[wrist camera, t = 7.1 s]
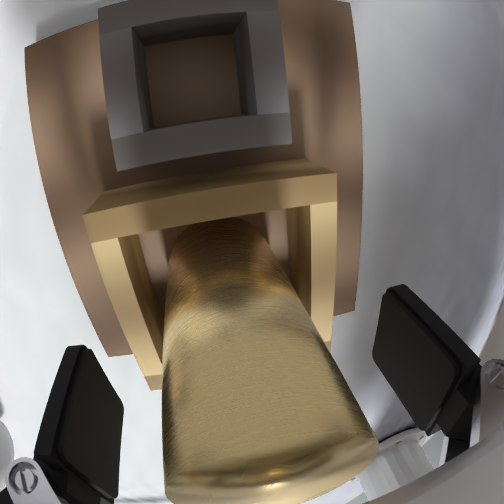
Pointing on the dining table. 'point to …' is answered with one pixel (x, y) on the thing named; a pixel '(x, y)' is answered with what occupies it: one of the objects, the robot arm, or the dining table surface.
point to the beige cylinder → (249, 380)
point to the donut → (5, 453)
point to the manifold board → (199, 150)
